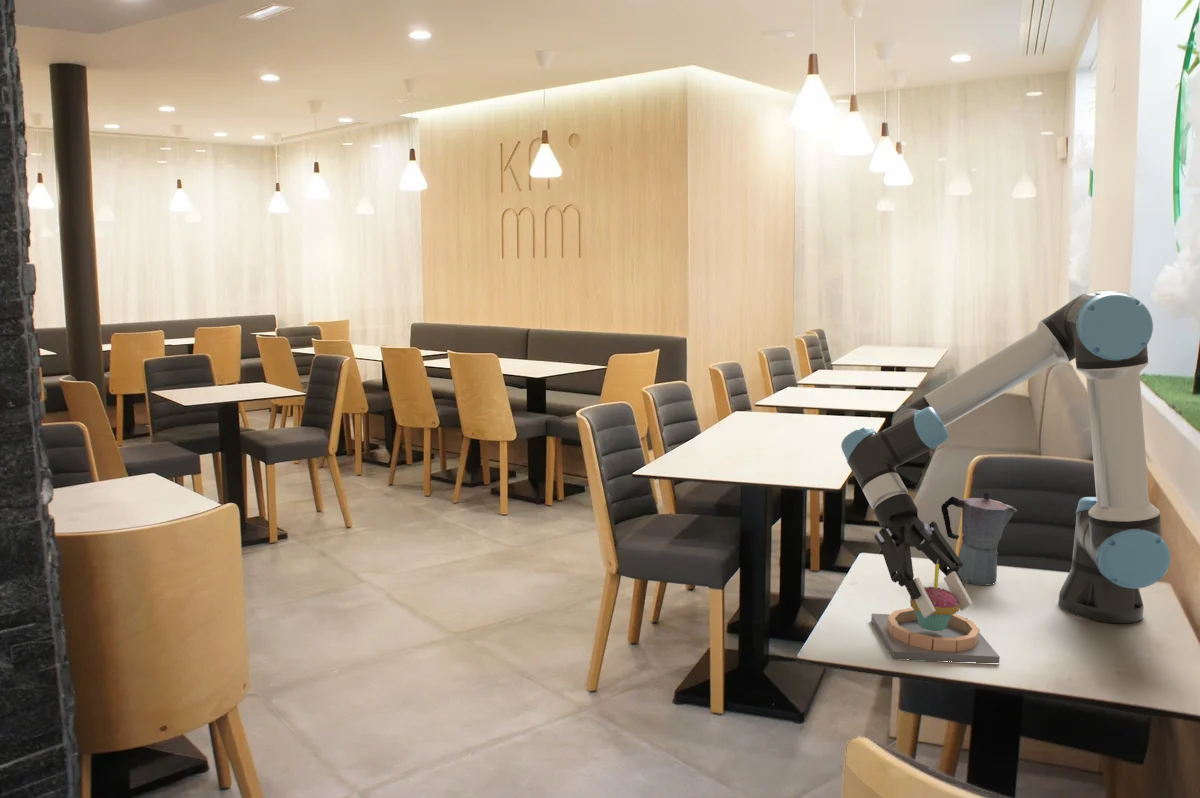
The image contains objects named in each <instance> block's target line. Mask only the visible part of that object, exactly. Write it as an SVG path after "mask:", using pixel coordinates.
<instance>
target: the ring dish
mask: <svg viewBox="0 0 1200 798" xmlns="http://www.w3.org/2000/svg"><path fill="white" fill-rule="evenodd" d="M870 620H871V623H872V624H873V627H874V628H875V630H876V632H877V634H878V636H879V637H880V639H881V641H882V642H883V644H884V646H885V648H886V650H887V649H888V650H887V652H888V651H889V652H888V653H889V655H890V654H891V655H890V657H891V656H892V657H891V659H892V658H893V659H909V660H925V661H924V662H929V661H948V662H947V663H949V661H950V662H951V661H952V662H976V663H999V664H1000V658H1001V657H1000V655H999V654H998V653H997V651H996V650H995V649H994V648H993V647H992V646H991V644H990V643H989V642H988V640H986V639H985V638H984V636H983V635H982V634H981V632H980V628H979V627H978V626H977V625H976V624H975V622H974V621H972V620H971V619H969V618H968V617H964V616H962V615H960V614H958V613H955V614H952V616H951V618H950V620H949V622H948V624H947V627H946V629H944V630H941V631H933V630H928V629H925V628H922V627H921V626H920V625H919V624H918V619H917V615H916V612H915V610H914V609H913V608H912V607H908V608H903V609H896V610H894V611H892V613H891V612H890V614H889V613H887V614H886V613H871V618H870ZM893 659H892V660H893ZM909 660H908V661H909Z"/></svg>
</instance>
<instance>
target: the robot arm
mask: <svg viewBox="0 0 1200 798" xmlns="http://www.w3.org/2000/svg"><path fill="white" fill-rule="evenodd" d="M1153 331H1154V322H1153V318H1152V315H1151V312H1150V311H1149V310H1148V307H1146V305H1145V304H1144V303H1143V302H1142V301H1140V300H1139V299H1137V298H1136V297H1134V296H1133V295H1130V294H1128V293H1126V292H1122V291H1118V290H1114V291H1112V290H1108V291H1107V290H1092V291H1087V292H1084V293H1083V294H1081V295H1078V296H1077V297H1074V298H1073V299H1072V300H1070V301H1069V302H1067V303H1066V304H1064V305H1063V306H1062V307H1061V308H1059V309H1057V310H1056V311H1054V312H1053V313H1051V314H1050V315H1048V316H1047V317H1045V318H1043V319H1042V320H1040V321H1039V322H1038V324H1037V328H1036V329H1035V330H1033V331H1032V332H1030V333H1028V334H1026V335H1024V336H1023V337H1021V338H1020V339H1018V340H1016V341H1015V342H1013V343H1011V344H1010V345H1008V346H1007V347H1005V348H1003V349H1001V350H999V351H998V352H996V353H994V354H993V355H991V356H989V357H988V358H986V359H984V360H982V361H981V362H979V363H978V364H976V365H974V366H972V367H971V368H969V369H968V370H967V369H966V371H965V372H962V373H960V374H959V375H958V376H955V377H954V378H952V379H951V380H948V381H947V382H945V383H944V384H942V385H940V386H938V387H937V388H935V389H933V390H932V391H930V392H928V393H927V394H925V395H923V396H922V397H921V398H918V399H917V400H915V401H913V402H911V403H908V404H907V403H906V404H904V405H901V406H900V407H898V408H897V409H896V410H895V412H894V413H893V415H892V418H891V424H890V426H889V427H887V428H885V429H882V430H881V431H879V432H877V431H876V430H874V428H873V427H868V426H867V427H861V428H859V429H855V430H853V431H851V432H849V433H848V434H847V435H846V436H845V437H844V438H843V440H842V441H841V450H842V453H843V455H844V456H845V459H846V463H847V465H848V467H850V470H851V471H852V474H853V476H854V477H855V480H856V481H857V483H858V485H859V486H860V489H861V490H862V492H863V494H864V496H865V499H866V500H867V502H868V504H869V506H870V507H871V509H873V514H874V515H875V518H876V520H877V521H878V524H879V526H880V528H881V529H879V530H878V531H877V533H875V534H874V535H873V536H874V539H875V540H876V542H877V544H879V547H880V549H881V553H882V555H883V558H884V561H885V565H886V567H887V571H888V573H889V576H890V580H891V582H893V583H898V586H900V587H905V589H906V591H907V592H908V595H909V596H910V598H912V599H913V600H915V602H916V604H917V606H918V607H919V609H920V611H921V613H922V615H923V617H924V618H926V617H928V616H929V615H931V614H932V613H933V612H935V611H936V610H935V608H934V606H933V604H932V602H931V600H930V598H929V597H928V595H927V593H926V591H925V589H924V587H925V586H924V585H923V584H922V581H921V580H920V578H919V577H914V568H913V567H914V566H913V561H912V560H913V559H912V553H911V547H913V548H914V547H915V549H916V550H918V551H920V552H922V553H923V554H924V555H925V556H926V557H927V558H928V559H929V560H930V561H931V562H932V563H933V564H934V565H935V564H937V560H938V564H939V571H941V572H942V573H943V574H944V575H945V576H944V578H943V580H944V582H945V584H946V586H947V588H948V591H949V592H950V593H952V594H953V595H955V596H956V598H957V599H958V602H960V603H959V604H960V605H959V610H960V611H962V612H963V611H965V610H966V609H968V608H969V607H970V606H971V605H973V601H972V600H971V597H970V595H969V593H968V592H967V589H966V586H965V583H964V581H962V579H961V577H960V576H959V574H958V570H959V569H960V568H961V567H963V563H962V562H961V560H960V559H959V555H957V553H956V552H955V551H954V549H953V548H952V546H951V545H950V544H949V542H948V541H947V540H946V539H945V537H944V536H943V534H942V533H941V531H940V529H939V526H938V524H937V522H936V521H931V522H930V523H924V522H923V521H922V520H921V519H920V518H919V516H918V515H919V514H918V511H919V510H918V507H917V505H916V504H915V502H914V500H913V498H912V495H910V494H908V493H909V492H908V489H907V487H906V485H905V484H904V482H903V480H902V478H901V476H900V474H899V473H898V471H897V470H896V468H897V467H899V466H902V465H904V464H905V463H907V462H909V461H911V460H913V459H915V458H917V457H919V456H920V455H923V454H925V453H927V452H929V451H931V450H933V449H936V448H938V446H940V445H942V444H943V443H945V442H947V441H948V440H949V438H950V433H949V432H948V430H947V426H949V425H950V424H953V423H954V422H956V421H957V420H959V419H961V418H963V417H964V416H966V415H967V414H969V413H972V412H973V411H975V410H977V409H979V408H980V407H982V406H983V405H985V404H987V403H989V402H990V401H992V400H994V399H996V398H998V397H999V396H1001V395H1003V394H1005V393H1007V392H1008V391H1010V390H1011V389H1014V388H1015V387H1017V386H1019V385H1020V384H1022V383H1024V382H1026V381H1028V380H1029V379H1030V378H1033V377H1034V376H1036V375H1038V374H1039V373H1042V372H1043V371H1044V370H1046V369H1048V368H1050V367H1052V366H1053V365H1055V364H1057V363H1060V362H1061V363H1065V364H1067V363H1069V362H1071V361H1073V360H1075V366H1076V367H1075V368H1076V370H1077V371H1078V372H1079V373H1081V374H1082V375H1083V376H1084V377H1085V378H1086V389H1087V390H1086V391H1087V392H1086V393H1087V402H1088V403H1087V404H1088V414H1089V415H1088V416H1089V425H1090V427H1089V429H1090V435H1091V436H1090V438H1091V449H1092V461H1093V462H1092V463H1093V475H1094V485H1095V486H1094V487H1095V496H1084V497H1081V498H1080V499H1079V501H1078V504H1077V508H1076V510H1075V514H1076V518H1075V528H1074V539H1073V549H1072V558H1071V559H1072V561H1071V569H1070V570H1069V572H1068V575H1067V576H1066V578H1065V580H1064V582H1063V585H1062V586H1061V589H1060V591H1059V595H1058V606H1060V607H1061V609H1063V610H1064V611H1066V612H1068V613H1070V614H1073V615H1075V616H1078V617H1080V618H1081V617H1082V618H1084V619H1087V620H1092V621H1097V622H1101V623H1110V624H1111V623H1112V624H1133V623H1137V622H1140V621H1141V620H1142V619H1143V617H1144V602H1143V599H1142V595H1141V590H1140V589H1143V588H1147V587H1150V586H1152V585H1154V584H1156V583H1157V582H1159V581H1160V580H1161V579H1162V578H1163V577H1164V576H1165V575H1166V573H1167V572H1168V571H1169V567H1170V564H1171V552H1170V549H1169V545H1168V544H1167V543H1166V541H1165V540H1164V538H1163V537H1162V536H1163V535H1162V524H1161V512H1160V509H1159V508H1157V507H1156V506H1155V505H1154V504H1153V503H1151V501H1150V494H1149V493H1150V492H1149V481H1148V480H1149V477H1148V466H1147V456H1146V455H1147V454H1146V453H1147V451H1146V444H1145V443H1146V440H1145V439H1146V438H1145V428H1144V426H1145V425H1144V415H1143V403H1142V402H1143V401H1142V391H1141V390H1142V389H1141V388H1142V387H1141V378H1140V377H1141V376H1140V374H1141V372H1142V371H1143V370H1144V369H1145V368H1146V367H1147V366H1148V365H1149V356H1148V354H1149V353H1148V344H1149V343H1150V341H1151V338H1152V335H1153Z"/></svg>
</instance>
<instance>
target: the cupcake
mask: <svg viewBox="0 0 1200 798" xmlns="http://www.w3.org/2000/svg"><path fill="white" fill-rule="evenodd" d="M934 566H935V567H934V568H935V569H934V580H933V582H934V583H933V586H926V587H925V586H923V587H924V589H925V591H926V593H927V595H928V597H929V598H930V600H931V602H932V604H933V606H934V608H935V610H936V611H935V612H933V613H932V614H931V615H929V616H928V617H926V618H924V617H923V615H922V613H921V611H920V609H919V607H918V606H917V604H916V602H915V600H913V599H912V598H911V597H910V599H909V600H910V601H909V602H910V608H913V609H914V610H915V612H916V615H917V619H918V624H919V625H920V626H921V627H922V628H925V629H928V630H933V631H941V630H944V629H946V627H947V624H948V622H949V620H950V618H951V616H952V614H957V613H958V611H959V610H960V608H959V605H960V604H959V603H960V602H958V599H957V598H956V596H955V595H953V594H952V593H951V592H950V590H947V589H944V588H940V587H939V575H940V574H939V573H940V572H939V571H940V569H939V564H938V560H937V564H934Z"/></svg>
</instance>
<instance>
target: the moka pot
mask: <svg viewBox="0 0 1200 798" xmlns="http://www.w3.org/2000/svg"><path fill="white" fill-rule="evenodd" d="M991 496H992V492H990V491H984V492H983V497H968V498H961V497H959V498H957V497H955V496H951V497H948V499H947V500H946V501H944V503H942V505H941V506H940V507H941V508H940V509H941V512H942V517H943V520H944V525H945V530H946V534H947V538H950V539H953V540H958V539H959V538H960V535H959V534H956V533H955V534H954V533H953V531H952V527H951V519H950V516H949V509H948V508H949V506H952V505H953V507H954V506H955V508H956V507H957V508H961V510H962V511H961V512H962V513H961V514H962V515H961V518H962V519H961V520H962V521H961V522H962V524H961V525H962V526H961V533H962V534H963V535H962V537H961V539H962V544H961V546H960V550H959V554H958V557H959V559H960V560H961V562H962V563H963V567H961V568H960V569H959V570H958V574H959V576H960V577H961V579H962V581H963V582H965V583H968V584H972V583H973V584H972V585H979V584H981V586H987V585H986V584H993V583H995V582H996V583H997V579H998V578H997V577H998V574H997V572H998V571H997V570H998V568H997V567H998V556H999V552H998V549H997V548H998V546H999V542H1000V541H1001V538H1002V535H1003V532H1004V529H1005V527H1006V526H1007V525H1008V523H1009V522H1010V520H1011V518H1012V517H1013V516H1014V514H1015V513H1016V512H1018V509H1016V508H1015V507H1014V506H1012V505H1009V504H1005V503H1003V502H1001V501H999V500H994V499H991ZM996 583H995V584H996ZM993 585H994V584H993Z"/></svg>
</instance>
